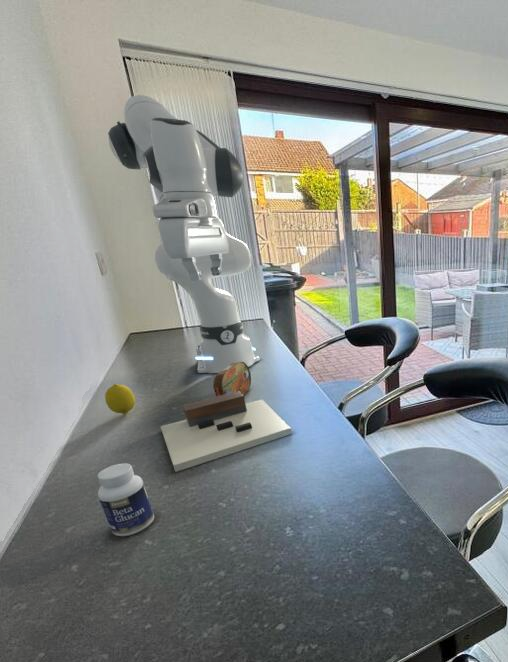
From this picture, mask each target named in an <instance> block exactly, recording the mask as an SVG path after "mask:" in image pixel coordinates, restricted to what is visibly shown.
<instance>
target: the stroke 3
mask: <svg viewBox="0 0 508 662" xmlns="http://www.w3.org/2000/svg"><path fill="white" fill-rule="evenodd" d="M235 428H236V431H237V432H241V431H244V430H248V429H251V428H252V425H251V423H250V422H249V423H246V424H242V425H239V426H235Z"/></svg>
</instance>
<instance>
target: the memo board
mask: <svg viewBox="0 0 508 662" xmlns="http://www.w3.org/2000/svg"><path fill="white" fill-rule="evenodd" d="M245 405H246V409H247V411H246V412H243V413H239V414H236V415H232V416H228V417H225V418H221V419H218V420H214V424H215V425H213V426H210V427H206V428H203V429H199V427H198V425H196V426H192V427H189V425H188V422H187V420H186V419H182V420H179V421H175V422H171V423H168V424H164V425H161V426H160V430H161V433H162V435H163V440H164V442H165V444H166V449H167V451H168V454H169V458H170V461H171V463H172V467H173V469H174V472H175V473H177V472H180V471H183V470H187V469H190V468H192V467H195V466H198V465H202V464H204V463H207V462H211V461H214V460H217V459H220V458H223V457H226V456H229V455H232V454H235V453H239V452H241V451H244V450H247V449H250V448H253V447H256V446H259V445H262V444H266V443H268V442H272V441H274V440H275V441H276V440H278V439H280V438H283V437H287V436H289V435H292V428H291V427H290V426H289V424H288V423H286V421H284V420H283V418H281V416H280V415H279V414H277V412H275V411H274V409H272V408H271V406H269V405H268V404H267V403H266V401H264V399H263V398H262V399H258V400H254V401H250V402H247V403H246V402H245ZM229 421H231V422H232V423H233V427H230V428H227V429H223V430H220V431H218V429H217V426H216V425H218V424H222V423H225V422H229ZM249 422H250V423H251V425H252V428H251V429H248V430H244V431H241V432H237V431H236V428H235V426H239V425H242V424H246V423H249Z"/></svg>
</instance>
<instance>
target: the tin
mask: <svg viewBox="0 0 508 662" xmlns="http://www.w3.org/2000/svg"><path fill="white" fill-rule="evenodd" d="M212 383H213V385H212V387H213V391H214V395H215V397H217V396H221V395H225V394H229V393H233V392H237V391H240V393H241V394H242V395H243V396H244V395H245V394H246V393H247V392H248V391H249V390H250V388H251V384H252V375H251V371H250V368H249V367H248V366H247V365H246V363H244V362H237V363H232V364H230V365H229V366H227V367H226V368H225V369H223V370H222V371H220V372H219V373H216V374H215V376H214V378H213V382H212Z"/></svg>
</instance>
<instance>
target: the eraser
mask: <svg viewBox="0 0 508 662" xmlns="http://www.w3.org/2000/svg"><path fill="white" fill-rule="evenodd" d="M245 404H246V400H245V397H244V395H242V394H241V393H240V391H237V392H233V393H229V394H225V395H221V396H217V397H216V396H213V397H209V398H204V399H201V400H197V401H193V402H189V403H185V404H182V405H181V406H182V409H183V412H184V416H185V420H187V422H188V425H189V427H192V426H196V425H198V423H202V422H205V421H209V420H213V421H214V420H218V419H221V418H225V417H228V416H232V415H236V414H239V413H243V412H246V411H247V409H246V405H245Z"/></svg>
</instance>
